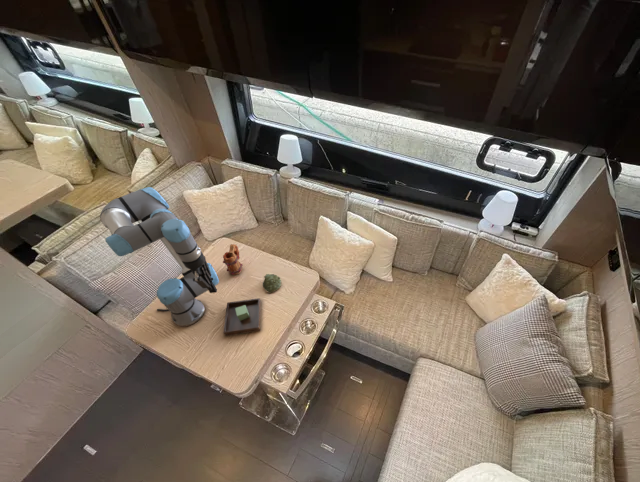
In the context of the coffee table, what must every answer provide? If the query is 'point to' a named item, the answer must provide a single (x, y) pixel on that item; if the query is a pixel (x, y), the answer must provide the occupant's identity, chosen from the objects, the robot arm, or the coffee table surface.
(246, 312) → the block
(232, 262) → the brown animal figurine
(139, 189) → the robot arm
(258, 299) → the tray
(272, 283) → the green bumpy lump
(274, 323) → the coffee table surface
